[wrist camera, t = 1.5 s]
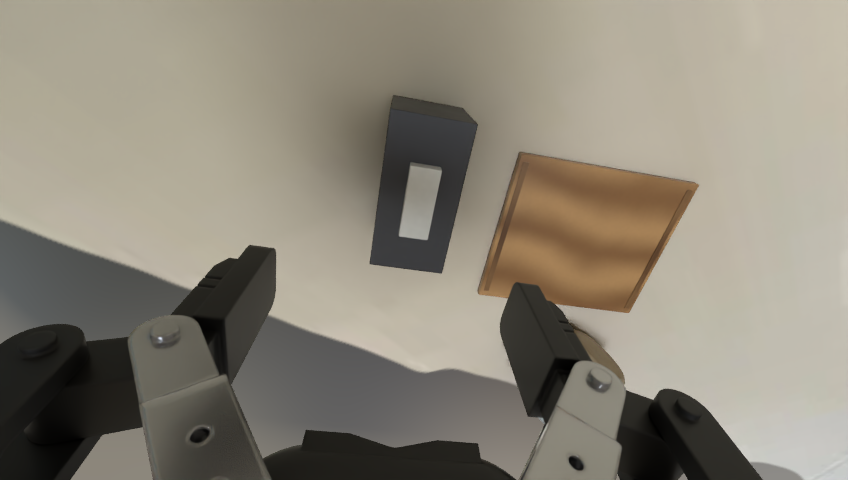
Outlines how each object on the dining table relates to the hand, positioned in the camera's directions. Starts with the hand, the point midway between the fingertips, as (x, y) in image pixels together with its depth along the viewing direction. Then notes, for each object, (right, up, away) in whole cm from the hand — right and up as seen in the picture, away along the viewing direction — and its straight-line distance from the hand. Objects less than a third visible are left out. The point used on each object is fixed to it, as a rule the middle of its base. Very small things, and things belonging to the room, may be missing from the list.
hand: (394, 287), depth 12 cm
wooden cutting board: (+15, +2, +22) cm, 27 cm away
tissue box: (0, +7, +18) cm, 19 cm away
